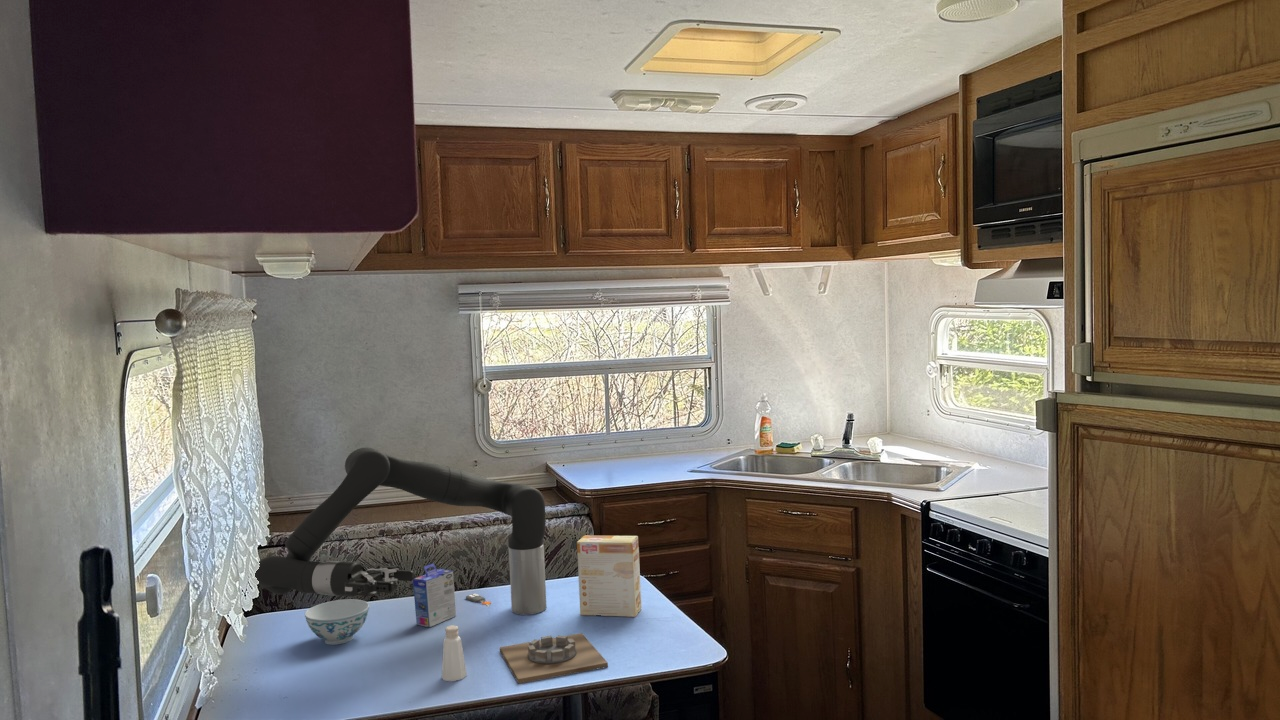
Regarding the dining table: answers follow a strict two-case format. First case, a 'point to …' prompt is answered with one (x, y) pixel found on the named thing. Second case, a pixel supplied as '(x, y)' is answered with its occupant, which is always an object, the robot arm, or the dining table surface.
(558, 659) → the collar board
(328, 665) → the dining table surface
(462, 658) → the pepper shaker
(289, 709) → the dining table surface
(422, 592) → the ink cartridge box
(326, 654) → the dining table surface
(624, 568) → the coffeecake box
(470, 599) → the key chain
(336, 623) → the chinaware
